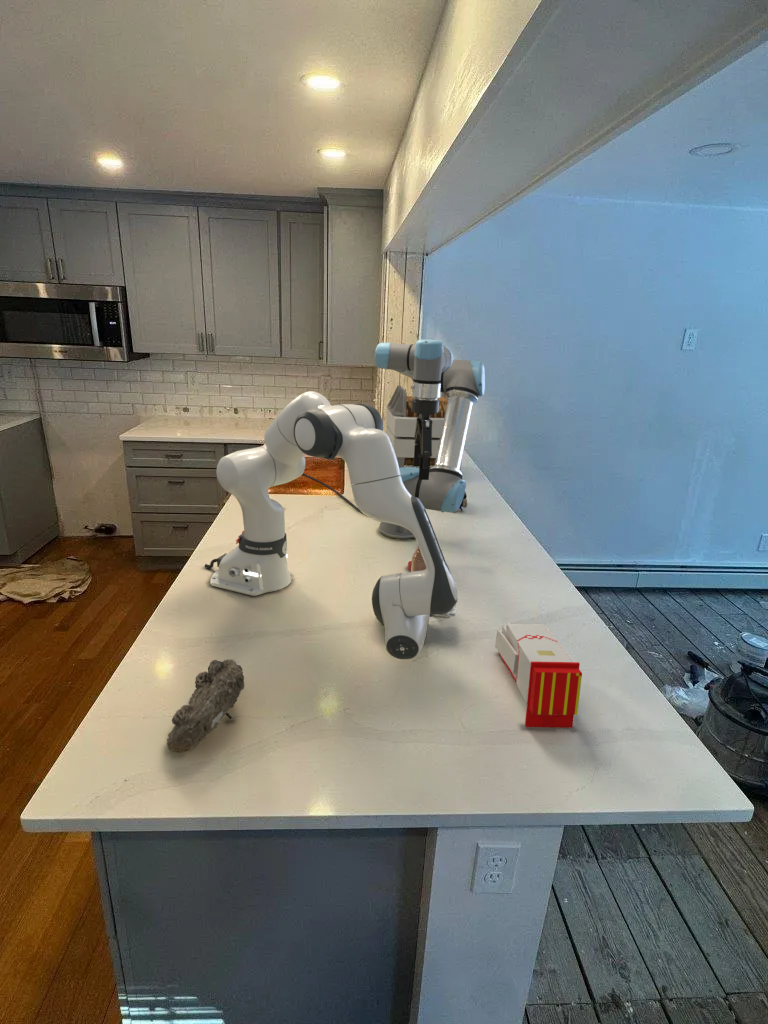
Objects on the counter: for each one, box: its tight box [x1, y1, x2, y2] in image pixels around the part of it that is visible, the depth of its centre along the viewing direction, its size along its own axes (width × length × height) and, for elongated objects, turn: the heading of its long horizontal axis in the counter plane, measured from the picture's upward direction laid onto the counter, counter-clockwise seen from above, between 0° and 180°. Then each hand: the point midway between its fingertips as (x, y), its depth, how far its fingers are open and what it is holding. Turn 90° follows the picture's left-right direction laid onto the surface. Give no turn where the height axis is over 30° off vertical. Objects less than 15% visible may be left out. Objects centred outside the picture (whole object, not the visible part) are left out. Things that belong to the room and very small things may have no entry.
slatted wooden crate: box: [385, 384, 463, 473], centre depth 268 cm, size 34×33×41 cm
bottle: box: [410, 544, 427, 572], centre depth 152 cm, size 5×5×18 cm
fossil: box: [166, 658, 245, 754], centre depth 106 cm, size 22×10×15 cm
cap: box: [407, 560, 412, 572], centre depth 173 cm, size 4×4×2 cm
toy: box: [494, 623, 583, 729], centre depth 120 cm, size 12×13×30 cm
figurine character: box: [458, 491, 468, 512], centre depth 228 cm, size 7×8×15 cm
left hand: (418, 586), depth 148 cm, fingers open, 8 cm apart
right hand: (420, 472), depth 163 cm, fingers open, 13 cm apart
